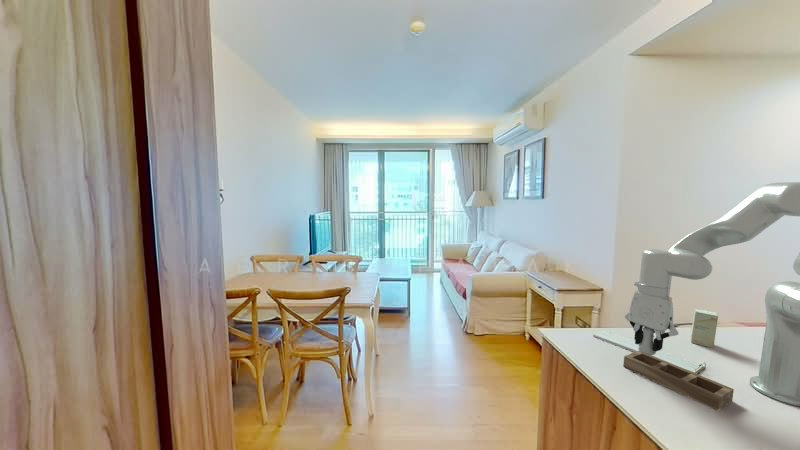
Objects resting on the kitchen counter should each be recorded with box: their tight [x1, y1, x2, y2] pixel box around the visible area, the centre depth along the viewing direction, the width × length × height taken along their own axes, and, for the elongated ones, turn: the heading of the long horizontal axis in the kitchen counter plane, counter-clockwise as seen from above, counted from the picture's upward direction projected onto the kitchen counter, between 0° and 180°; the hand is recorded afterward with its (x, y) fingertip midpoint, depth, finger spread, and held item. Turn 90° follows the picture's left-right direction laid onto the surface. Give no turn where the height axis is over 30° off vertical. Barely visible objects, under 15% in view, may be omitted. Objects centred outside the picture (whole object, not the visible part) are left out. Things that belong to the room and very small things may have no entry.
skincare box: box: [690, 308, 719, 349], centre depth 118 cm, size 6×4×12 cm
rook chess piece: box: [638, 326, 656, 355], centre depth 99 cm, size 4×4×8 cm
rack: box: [622, 351, 735, 412], centre depth 94 cm, size 9×23×4 cm, turn 26°
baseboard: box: [592, 329, 707, 374], centre depth 113 cm, size 30×3×10 cm
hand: (647, 346), depth 100 cm, fingers closed on rook chess piece, 4 cm apart
